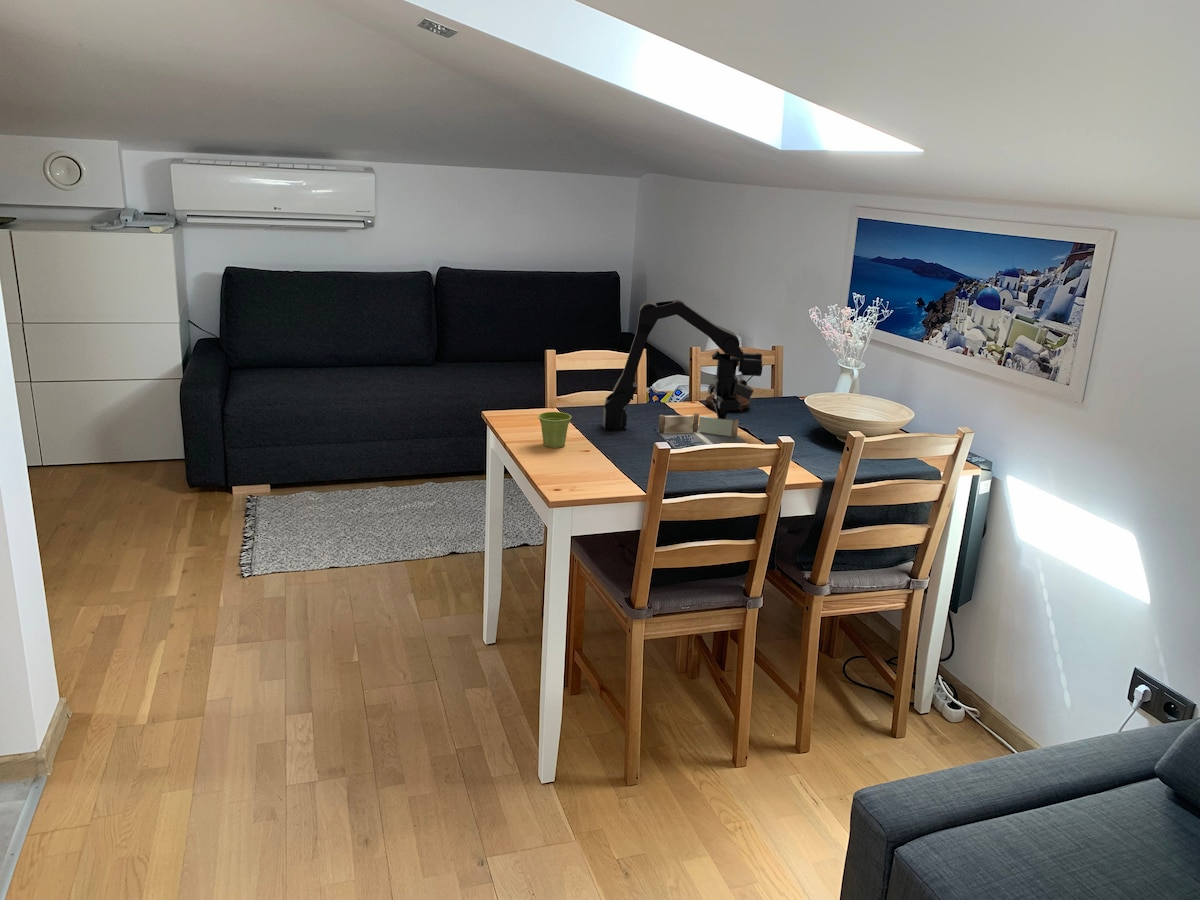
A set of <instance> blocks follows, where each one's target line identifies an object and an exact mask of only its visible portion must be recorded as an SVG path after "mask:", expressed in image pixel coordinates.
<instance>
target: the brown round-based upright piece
mask: <svg viewBox="0 0 1200 900" xmlns="http://www.w3.org/2000/svg"><path fill="white" fill-rule="evenodd" d="M723 354H727V353H725V352H723ZM730 356H732V357H735V356H734V355H733V354H730ZM738 363H739V361H737V366H736V368H738ZM735 378H736V379H737V380H738V377H735ZM731 397H733V396H731ZM736 398H737V399H738V401H739V402H740V403H741V407H740V410H739V412H740V413H743V411H744V409H747V408H749V407H750V404H751V401H750V399H749V400H747V399H746V398H744V397H742V396H739V395H737V397H736ZM712 399H715V395H714V393H712V394H711V395H709V396H707V397H705V403H706V404H707V405H708V406H711V410H712V409H714V410H715V408H714V404H713V401H712Z"/></svg>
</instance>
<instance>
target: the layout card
mask: <svg viewBox="0 0 1200 900" xmlns="http://www.w3.org/2000/svg"><path fill="white" fill-rule="evenodd" d="M692 429H693V426H692ZM698 430H699V425H698ZM686 433H687V434H686ZM690 434H691V435H690ZM658 435H659V436H660V437H661V436H662V437H661V438H662V439H663V438H664V439H663V440H664V441H666V443H668V442H669V443H670V444H669V443H668V444H669V445H670V446H671V447H672V448H673V449H674V448H682V447H686V446H687V445H686V446H680V447H675V445H678V443H677V444H674V443H673V442H675V443H676V441H674V440H673V441H672V440H671V441H669V440H666V439H670V438H673V439H674V437H675V438H676V437H677V436H679V437H680V439H681V441H682V437H681V436H684V439H686V437H685V435H686V436H687V438H689V440H690V438H691V440H690V441H691V443H694V442H702V443H697V444H694V445H702V444H716V443H749V442H748V441H747V440H745V439H743V438H742V437H741V436H740V435H738V434H737V437H733V436H727V435H720V434H713V433H706V432H699V431H698V432H693V431H692V432H677V433H662V434H658ZM688 435H689V436H690V437H688ZM692 437H693V438H694V439H693V438H692ZM689 440H688V441H689ZM685 441H686V440H685ZM688 446H689V445H688Z"/></svg>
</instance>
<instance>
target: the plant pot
mask: <svg viewBox="0 0 1200 900" xmlns="http://www.w3.org/2000/svg"><path fill="white" fill-rule="evenodd" d="M537 418H538V419H539V422H540V426H541V435H542V442H543V443H542V444H543V446H544V447H545V448H546V447H549V448H551V449H557V448H558V449H559V448H562V447H565V446H566V439H567V433H568V428H569V424H570V422H571V419H572V415H570V414H568V413H567V412H566V413H565V412H561V411H545V412H541V413H539V414H538V415H537Z"/></svg>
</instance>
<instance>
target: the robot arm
mask: <svg viewBox="0 0 1200 900" xmlns="http://www.w3.org/2000/svg"><path fill="white" fill-rule="evenodd" d="M671 316H678V317H680V318H682V319H683V320H684V321H686V322H687V323H688V324H690V325H692V326H693V327H695V329H697V330H699V331H700V332H702V333H703V334H704V335H706V336H707V337H708V338H709V339H711V341H712V342H713V343H714V345H716V346H717V347H718V348H719V349H720V350H721V351H722V352H723V353H721V352H720V351H719V350H716V351H715V352H714V353H713V354H711V358H712V360H713V361H714V360H715V361H717V366H716V373H715V375H714V380H715V383H710V385H709V386H707V387H708V388H707V394H708V395H709V396H710V395H713V394H714V395H715V399H712V401H713V404H714V411H715V413H716V418H721V419H726V418H727V415H728V413H729V411H740V407H741V403H740V402H739V401H738V399H737V398H736V397H737V395H739V396H742V397H744V398H746V399H747V400H749V401H750V399H751V398H752V395H753V393H754V391H755V390H754V389H753V388H752V387H751V386H750V385H748V382H747V381H746V379H742V378H741V379H740V380H739V381H738V380H737V379H738V378H737V377H736V376H737V374H736V373H737V372H738V373H740V374H741V376H747V377H748V376H751V377H761V376H762V373H763V358H762V357H763V354H762V353H760V352H756V353H753V352H751V353H750V352H748V353H747V352H744V350H743V349H742V348H741V347H740V340H739V338H738V336H737V334H736V333H735V332H733V331H731V330H729V329H727V328H724V327H722V326H721V325H717V324H715V323H713V322H712V321H710V320H709V319H707V318H706V317H705V316H703V315H702V314H701V313H699V312H698V311H696V310H695V309H693V308H692V307H690V306H689V305H687V304H686V303H685V302H684V301H683V300H681V299H679V298H678V299H673V300H667V301H658V302H655V301H651V300H647V301H644V302H642V304H641V305H640V308H639V314H638V319H637V320H638V321H637V327H636V332H635V335H634V338H633V341H632V344H631V347H630V350H629V353H628V357H627V359H626V362H625V365H624V369H623V371H622V373H621V375H620V377H619V378H618V379H617V382H616V383H615V385H614V387H613V389H612V392H611V393H610V394H609V395H608V396H606V397H605V400H604V401H605V402H604V407H602V409H603V410H602V423H600V426H601V427H602V428H603V429H604V430H605V432H606V431H609V432H610V431H627V420H628V414H627V411H626V410H627V409H626V408H625V407H626V406H628V405H629V404H630V402H631V401H634V396H635V393H636V391H637V388H638V383H637V382H634V380H635V376H636V373H637V370H638V368H639V364H640V362H641V357H642V356H643V352H644V350H645V347H646V344H647V341H648V338H649V335H650V333H651V332H652V330H653V328H654V327H655V325H656V323H657V322H658V320H661V319H665V318H669V317H671ZM724 353H727V354H724ZM730 354H733V355H734V356H735V357H732V356H730ZM737 361H739V363H738V366H737ZM736 366H737V367H736ZM735 377H736V378H737V379H736V378H735ZM731 396H733V397H731Z"/></svg>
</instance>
